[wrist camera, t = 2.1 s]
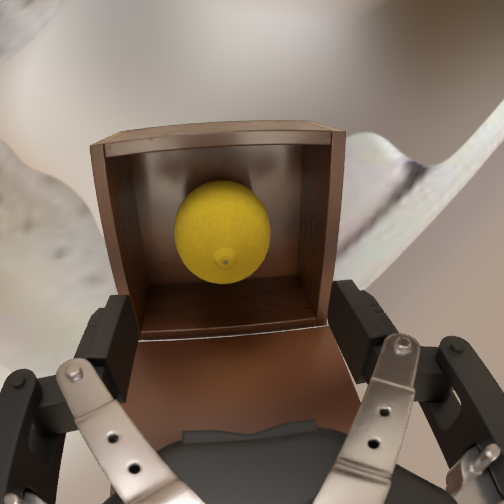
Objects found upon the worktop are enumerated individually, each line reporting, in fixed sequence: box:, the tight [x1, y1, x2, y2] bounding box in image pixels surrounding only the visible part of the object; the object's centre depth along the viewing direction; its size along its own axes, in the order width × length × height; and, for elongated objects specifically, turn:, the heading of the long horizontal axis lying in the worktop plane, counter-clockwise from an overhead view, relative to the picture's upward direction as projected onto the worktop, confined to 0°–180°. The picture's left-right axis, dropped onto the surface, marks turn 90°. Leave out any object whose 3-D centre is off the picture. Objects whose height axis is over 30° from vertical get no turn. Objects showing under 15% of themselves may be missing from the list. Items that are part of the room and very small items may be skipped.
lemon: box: [174, 180, 271, 284], centre depth 19 cm, size 6×6×8 cm
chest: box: [90, 120, 346, 341], centre depth 20 cm, size 13×13×6 cm
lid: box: [110, 326, 361, 496], centre depth 16 cm, size 13×13×6 cm
